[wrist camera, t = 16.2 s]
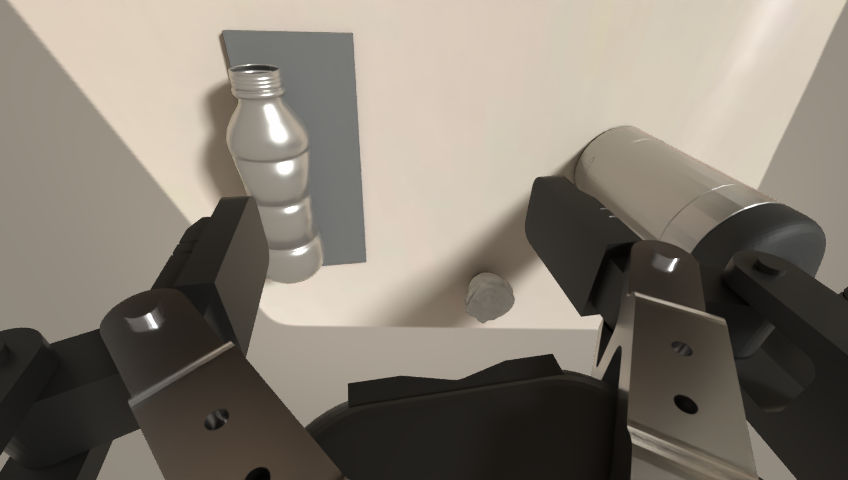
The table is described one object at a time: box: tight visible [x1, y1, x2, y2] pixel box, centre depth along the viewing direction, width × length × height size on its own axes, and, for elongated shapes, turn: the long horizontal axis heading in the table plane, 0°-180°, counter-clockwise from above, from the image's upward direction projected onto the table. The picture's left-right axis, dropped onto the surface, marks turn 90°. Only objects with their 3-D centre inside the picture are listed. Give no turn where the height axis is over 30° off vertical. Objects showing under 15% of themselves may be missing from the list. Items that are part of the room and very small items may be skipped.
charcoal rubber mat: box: [222, 30, 366, 266], centre depth 37 cm, size 10×24×1 cm, turn 178°
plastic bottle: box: [226, 64, 325, 284], centre depth 34 cm, size 6×7×20 cm
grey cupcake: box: [465, 272, 515, 323], centre depth 48 cm, size 6×7×7 cm
